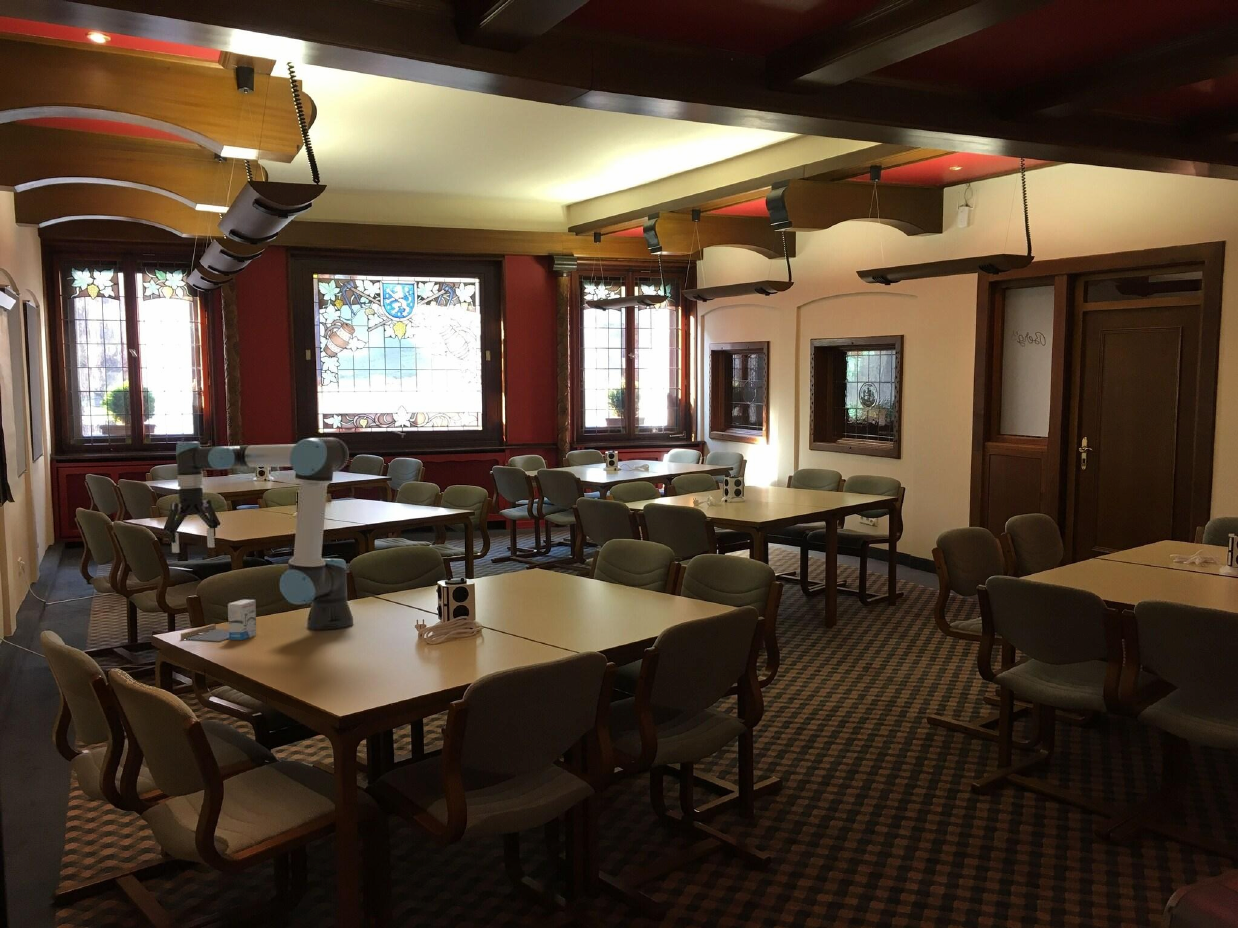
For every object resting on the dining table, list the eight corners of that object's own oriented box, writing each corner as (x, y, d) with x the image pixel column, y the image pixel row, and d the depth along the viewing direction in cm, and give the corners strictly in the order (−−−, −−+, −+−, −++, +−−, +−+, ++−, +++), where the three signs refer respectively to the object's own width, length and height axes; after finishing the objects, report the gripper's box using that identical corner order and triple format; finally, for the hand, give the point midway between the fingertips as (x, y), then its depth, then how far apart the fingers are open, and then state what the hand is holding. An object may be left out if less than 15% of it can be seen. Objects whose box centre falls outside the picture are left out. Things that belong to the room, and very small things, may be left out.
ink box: (242, 640, 304) (240, 604, 303) (228, 640, 305) (226, 603, 304) (257, 634, 312) (256, 599, 312) (244, 634, 313) (242, 598, 313)
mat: (250, 631, 317) (250, 625, 317) (219, 642, 302) (219, 635, 302) (213, 629, 321) (213, 623, 321) (180, 639, 307) (180, 633, 307)
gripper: (214, 484, 334) (218, 544, 334) (149, 490, 312) (153, 554, 313) (229, 484, 330) (232, 545, 331) (163, 490, 308) (167, 555, 309)
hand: (193, 549), depth 322 cm, fingers open, 13 cm apart
